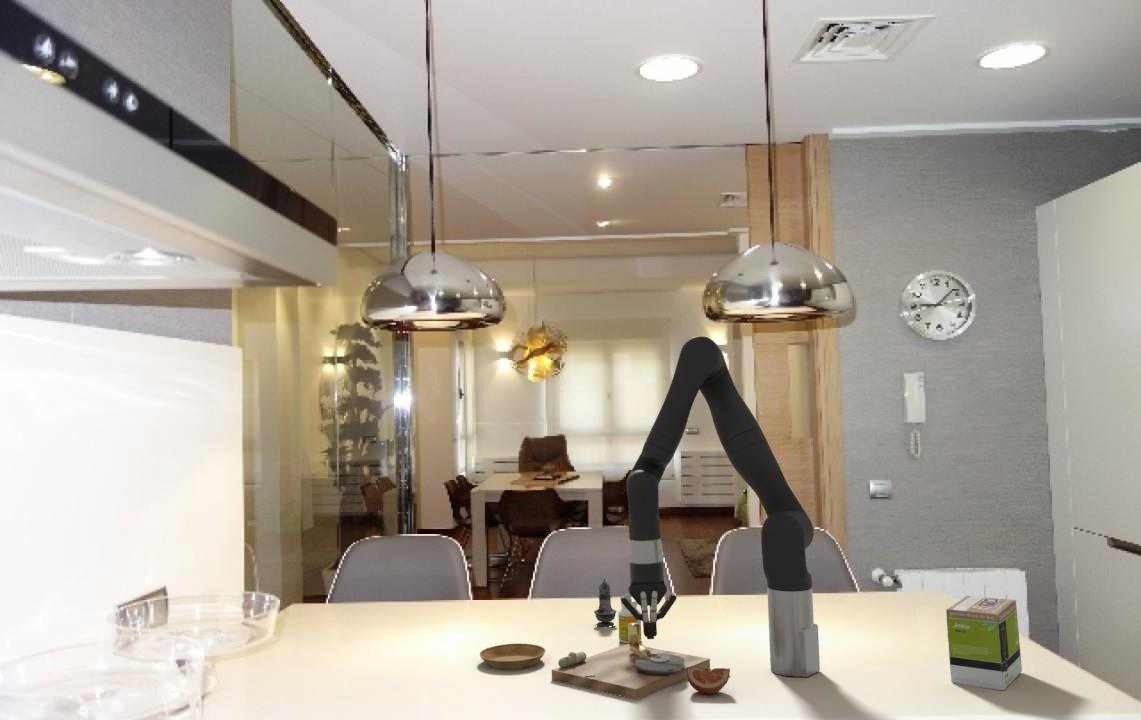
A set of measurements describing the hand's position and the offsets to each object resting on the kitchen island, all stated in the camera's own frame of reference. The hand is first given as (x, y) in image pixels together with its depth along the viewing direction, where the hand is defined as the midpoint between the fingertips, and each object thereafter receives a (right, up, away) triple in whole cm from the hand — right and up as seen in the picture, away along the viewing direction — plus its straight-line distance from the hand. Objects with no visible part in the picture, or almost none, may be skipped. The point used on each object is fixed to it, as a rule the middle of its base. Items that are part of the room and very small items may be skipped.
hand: (650, 638), depth 195 cm
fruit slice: (+9, -3, -24) cm, 26 cm away
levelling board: (-5, -4, -10) cm, 12 cm away
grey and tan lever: (-1, -2, -9) cm, 9 cm away
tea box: (+66, -2, -19) cm, 68 cm away
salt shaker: (-9, -8, +34) cm, 36 cm away
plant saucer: (-31, -6, +2) cm, 31 cm away
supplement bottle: (-3, -6, +18) cm, 19 cm away
